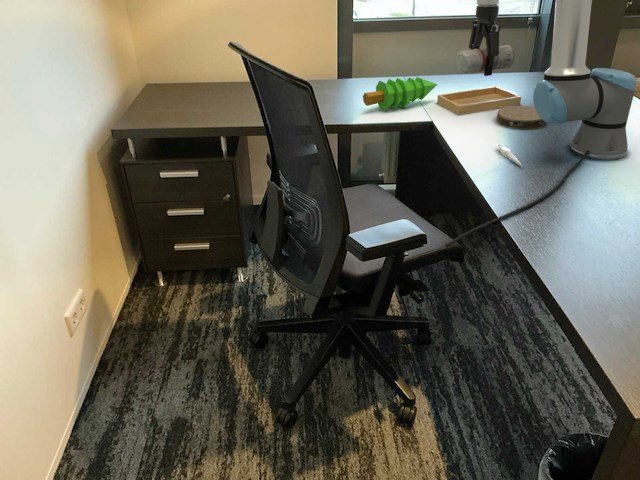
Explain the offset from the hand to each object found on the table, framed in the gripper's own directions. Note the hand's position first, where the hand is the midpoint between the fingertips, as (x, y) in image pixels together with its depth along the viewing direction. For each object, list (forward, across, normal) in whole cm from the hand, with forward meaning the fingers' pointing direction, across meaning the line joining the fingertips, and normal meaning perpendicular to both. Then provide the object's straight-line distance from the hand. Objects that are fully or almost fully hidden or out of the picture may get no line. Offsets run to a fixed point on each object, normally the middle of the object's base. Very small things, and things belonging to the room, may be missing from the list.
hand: (481, 72), depth 200 cm
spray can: (-4, 0, -11) cm, 12 cm away
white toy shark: (+12, -48, +20) cm, 54 cm away
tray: (+12, 0, 0) cm, 12 cm away
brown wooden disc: (+12, -23, -2) cm, 26 cm away
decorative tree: (+12, +10, +26) cm, 30 cm away
